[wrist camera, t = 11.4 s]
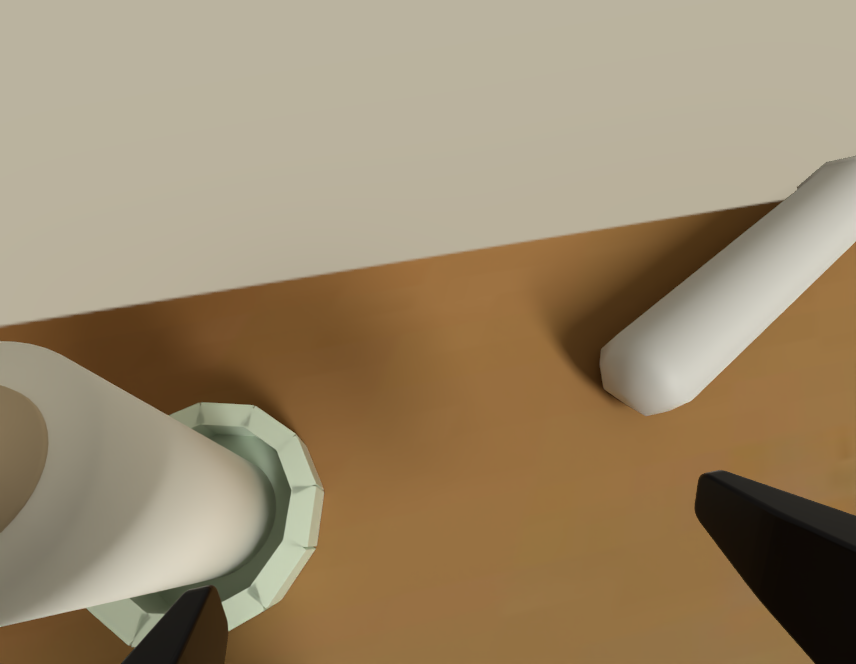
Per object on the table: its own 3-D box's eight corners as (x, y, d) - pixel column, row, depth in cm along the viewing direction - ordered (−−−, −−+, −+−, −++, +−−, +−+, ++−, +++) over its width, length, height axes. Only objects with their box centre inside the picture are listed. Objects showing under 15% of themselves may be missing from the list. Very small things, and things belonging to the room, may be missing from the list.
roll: (230, 602, 17) (-101, 733, 6) (131, 545, 18) (-357, 555, 6) (297, 487, 19) (161, 406, 8) (207, 439, 20) (-45, 298, 8)
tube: (695, 438, 19) (920, 206, 27) (630, 339, 19) (874, 138, 27) (614, 432, 24) (824, 239, 32) (563, 355, 24) (785, 181, 32)
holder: (304, 635, 17) (292, 650, 15) (78, 630, 17) (32, 644, 15) (333, 422, 21) (327, 409, 19) (152, 412, 21) (124, 397, 19)
